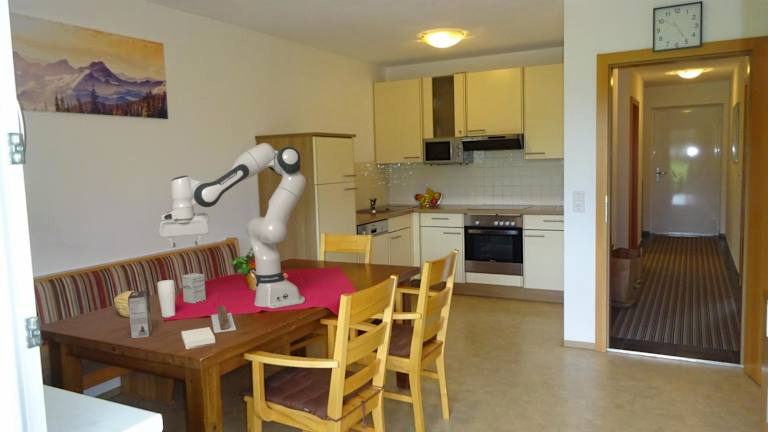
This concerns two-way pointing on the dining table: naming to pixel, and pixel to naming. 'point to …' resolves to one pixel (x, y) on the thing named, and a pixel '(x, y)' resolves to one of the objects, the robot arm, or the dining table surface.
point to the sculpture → (123, 303)
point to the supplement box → (193, 287)
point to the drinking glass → (167, 297)
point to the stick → (222, 317)
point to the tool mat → (217, 325)
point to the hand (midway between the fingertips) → (185, 246)
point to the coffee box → (140, 314)
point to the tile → (198, 337)
